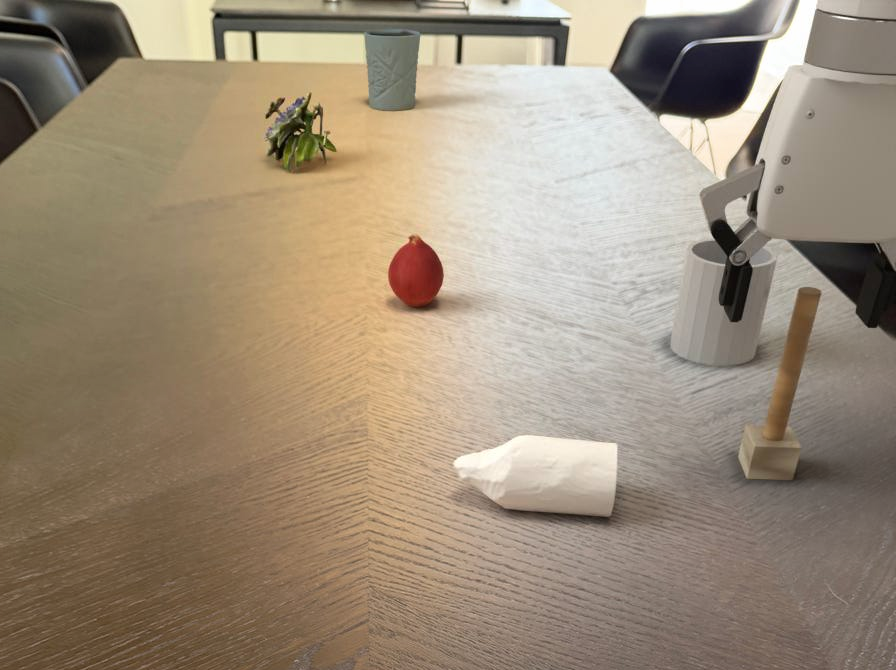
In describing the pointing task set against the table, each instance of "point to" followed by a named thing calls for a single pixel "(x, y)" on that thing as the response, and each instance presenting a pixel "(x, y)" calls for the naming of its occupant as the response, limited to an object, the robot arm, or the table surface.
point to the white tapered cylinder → (546, 475)
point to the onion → (416, 273)
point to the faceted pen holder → (718, 307)
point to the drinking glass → (392, 68)
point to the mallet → (781, 402)
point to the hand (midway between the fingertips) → (798, 318)
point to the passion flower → (287, 142)
